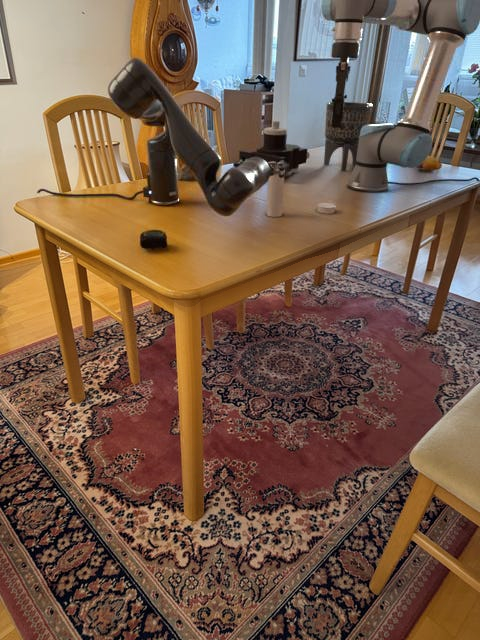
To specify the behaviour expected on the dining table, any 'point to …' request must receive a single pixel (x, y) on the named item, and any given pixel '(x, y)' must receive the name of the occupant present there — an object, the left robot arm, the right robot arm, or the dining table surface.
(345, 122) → the planter
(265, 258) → the dining table surface
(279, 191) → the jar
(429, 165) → the toy
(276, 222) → the dining table surface
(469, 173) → the dining table surface
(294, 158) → the mechanical component
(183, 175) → the rock
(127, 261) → the dining table surface
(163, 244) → the tape measure
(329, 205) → the white cylinder with groove
